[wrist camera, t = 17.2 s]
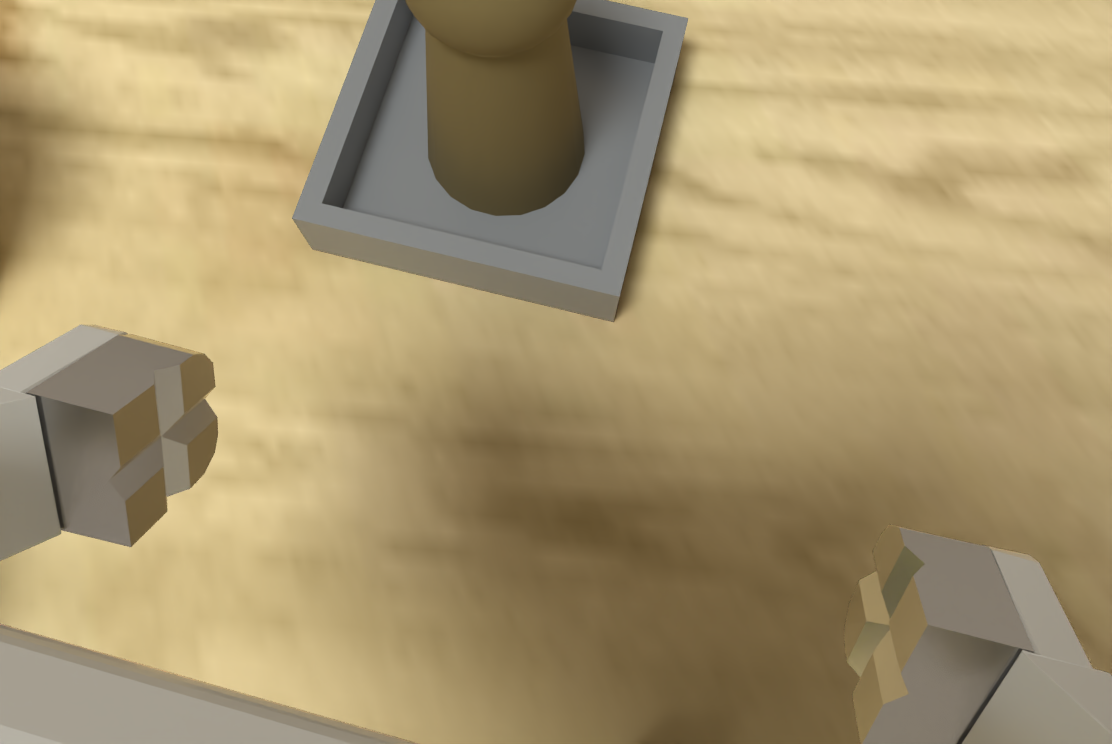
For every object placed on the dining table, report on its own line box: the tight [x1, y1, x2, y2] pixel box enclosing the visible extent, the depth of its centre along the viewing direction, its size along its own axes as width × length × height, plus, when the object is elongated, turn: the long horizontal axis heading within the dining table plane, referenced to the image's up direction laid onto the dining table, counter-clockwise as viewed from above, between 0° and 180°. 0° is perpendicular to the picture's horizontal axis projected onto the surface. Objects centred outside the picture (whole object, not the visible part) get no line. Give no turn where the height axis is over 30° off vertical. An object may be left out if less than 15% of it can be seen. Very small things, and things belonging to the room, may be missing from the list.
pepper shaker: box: [405, 0, 585, 216], centre depth 25 cm, size 6×6×11 cm
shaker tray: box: [292, 0, 688, 322], centre depth 30 cm, size 12×12×2 cm
